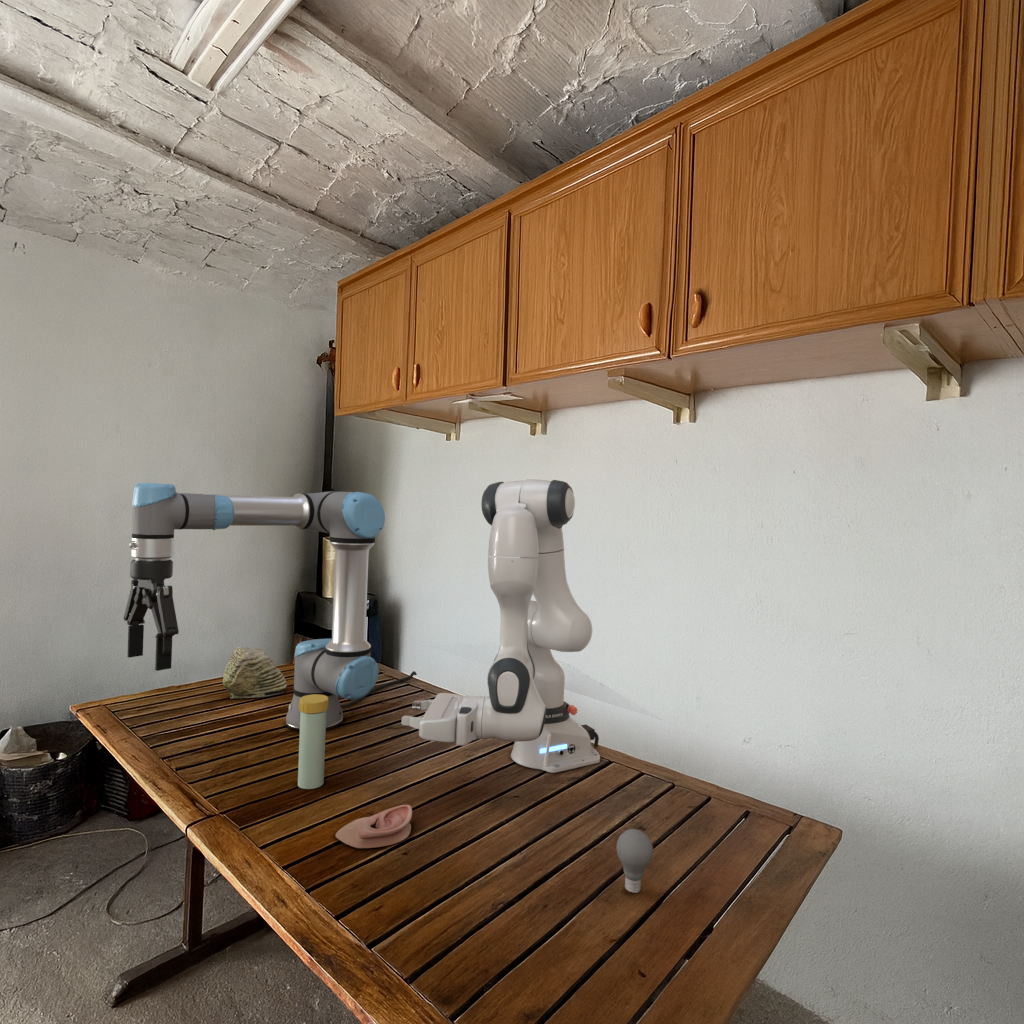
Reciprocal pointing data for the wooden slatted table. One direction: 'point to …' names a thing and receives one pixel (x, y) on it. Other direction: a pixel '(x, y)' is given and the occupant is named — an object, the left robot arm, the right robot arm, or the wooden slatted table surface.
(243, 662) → the fossil
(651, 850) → the light bulb
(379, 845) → the anatomical model
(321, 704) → the lid
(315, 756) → the pale green bottle
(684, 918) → the wooden slatted table surface
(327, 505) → the left robot arm
